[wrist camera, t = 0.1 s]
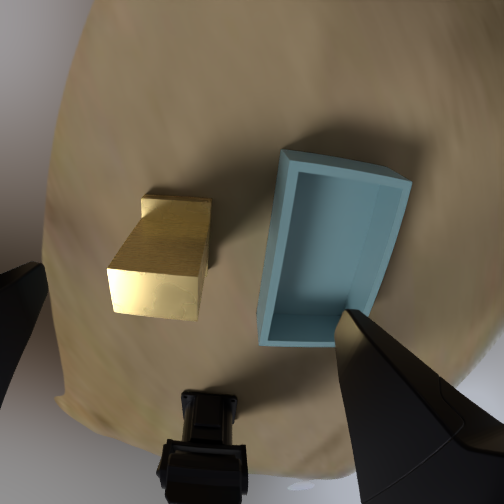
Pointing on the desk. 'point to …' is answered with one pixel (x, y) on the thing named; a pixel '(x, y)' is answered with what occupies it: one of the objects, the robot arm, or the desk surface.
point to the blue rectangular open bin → (326, 245)
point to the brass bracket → (163, 259)
